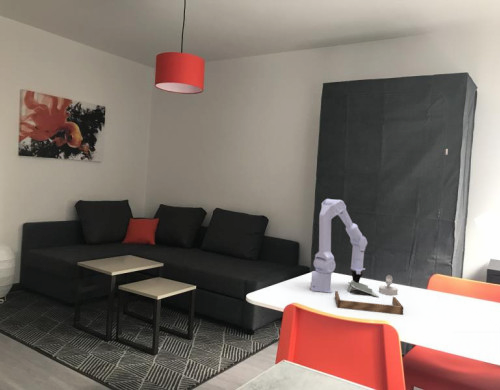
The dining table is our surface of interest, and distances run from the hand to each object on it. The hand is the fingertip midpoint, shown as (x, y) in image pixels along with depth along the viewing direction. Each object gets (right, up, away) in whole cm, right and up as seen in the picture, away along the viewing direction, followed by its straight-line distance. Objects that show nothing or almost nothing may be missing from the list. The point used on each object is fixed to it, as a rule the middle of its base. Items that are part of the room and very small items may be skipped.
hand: (355, 285), depth 211 cm
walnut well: (-3, -1, -33) cm, 33 cm away
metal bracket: (+1, -2, -9) cm, 10 cm away
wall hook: (+14, -2, -7) cm, 16 cm away
